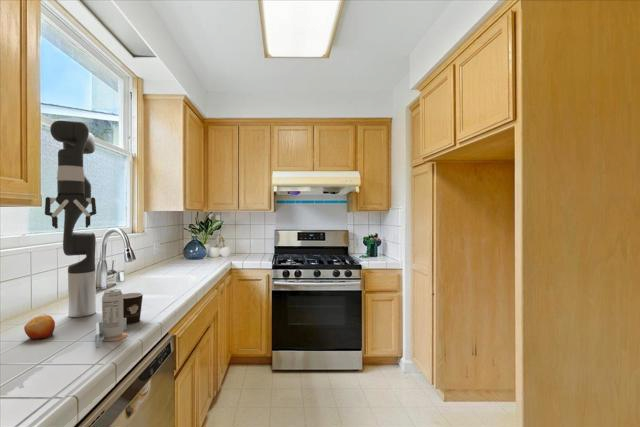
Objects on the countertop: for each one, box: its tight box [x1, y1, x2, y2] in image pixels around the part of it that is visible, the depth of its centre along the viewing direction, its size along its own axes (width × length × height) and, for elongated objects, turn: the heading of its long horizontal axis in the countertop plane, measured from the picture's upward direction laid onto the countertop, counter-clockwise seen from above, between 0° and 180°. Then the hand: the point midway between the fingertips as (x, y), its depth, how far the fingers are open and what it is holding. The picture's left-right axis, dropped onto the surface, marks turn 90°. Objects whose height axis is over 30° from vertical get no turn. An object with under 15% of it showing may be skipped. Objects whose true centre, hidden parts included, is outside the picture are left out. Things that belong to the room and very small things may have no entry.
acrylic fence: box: [95, 318, 127, 349], centre depth 117 cm, size 14×9×4 cm, turn 32°
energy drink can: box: [101, 289, 125, 339], centre depth 117 cm, size 6×6×15 cm
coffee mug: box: [122, 292, 144, 326], centre depth 133 cm, size 12×9×10 cm
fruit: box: [23, 314, 56, 340], centre depth 118 cm, size 8×8×8 cm
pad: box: [102, 332, 129, 342], centre depth 117 cm, size 7×7×1 cm
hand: (71, 227), depth 120 cm, fingers open, 8 cm apart
